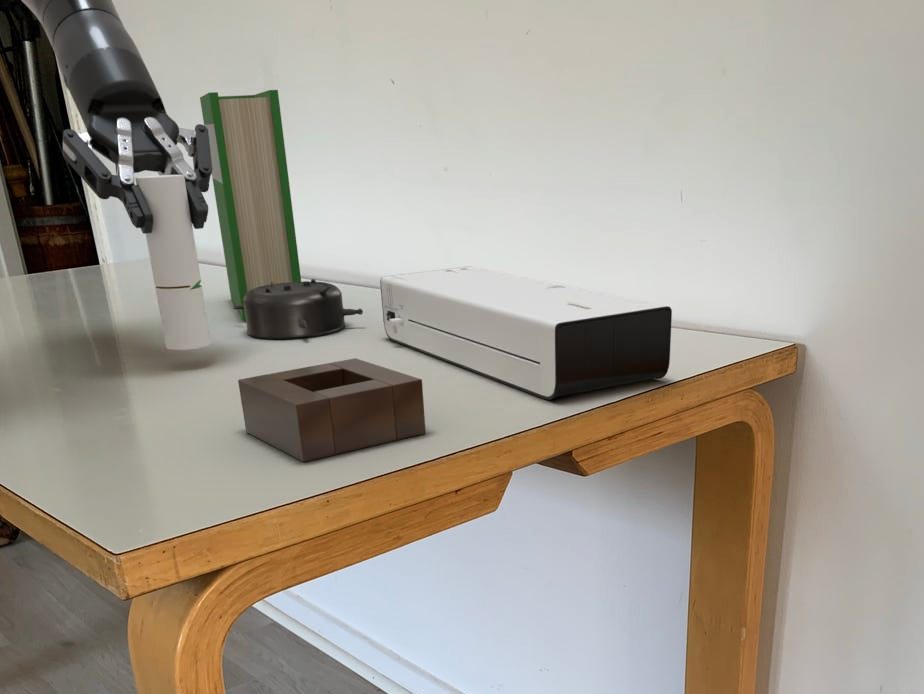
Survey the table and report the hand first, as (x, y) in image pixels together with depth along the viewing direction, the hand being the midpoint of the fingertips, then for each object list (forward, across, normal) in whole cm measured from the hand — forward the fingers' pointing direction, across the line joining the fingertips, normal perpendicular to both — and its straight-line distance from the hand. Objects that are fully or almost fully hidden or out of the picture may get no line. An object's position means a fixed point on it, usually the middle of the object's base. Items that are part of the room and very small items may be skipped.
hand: (175, 223), depth 90 cm
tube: (+7, 0, +9) cm, 11 cm away
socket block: (+30, -1, -12) cm, 32 cm away
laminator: (+22, +23, -4) cm, 33 cm away
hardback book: (-11, +20, +29) cm, 37 cm away
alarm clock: (+4, +18, +10) cm, 21 cm away
